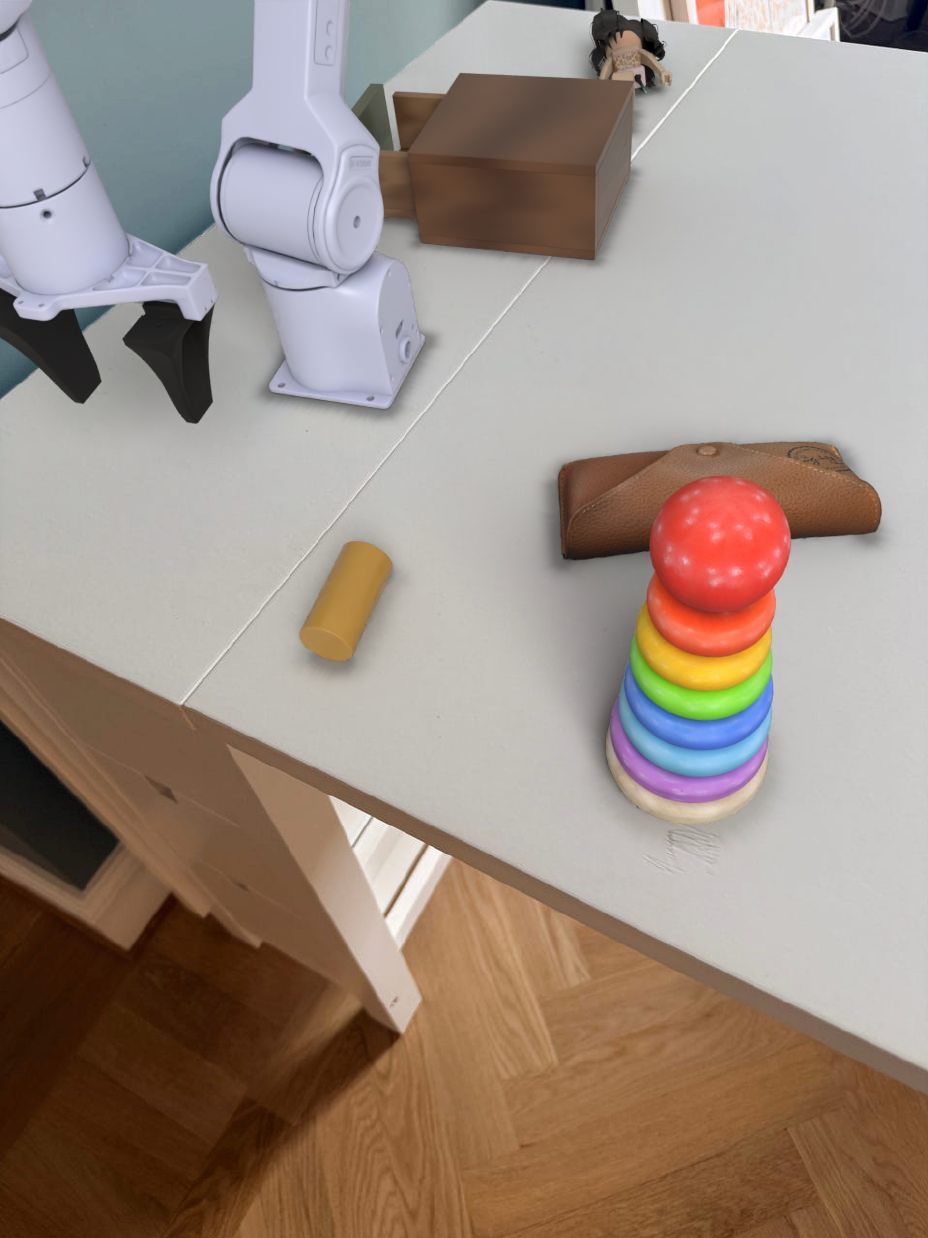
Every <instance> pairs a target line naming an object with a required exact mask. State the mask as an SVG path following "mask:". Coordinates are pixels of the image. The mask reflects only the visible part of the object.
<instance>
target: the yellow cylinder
mask: <svg viewBox="0 0 928 1238" xmlns="http://www.w3.org/2000/svg"><path fill="white" fill-rule="evenodd" d="M393 567H394V566H393V562H392V560H391V558H390V557H389V555H388V554H387V553H386V552H385V551H384V550H382V549H380V548H379V547H378V546H376V545H374V544H372V543H369V542H366V541H362V540H352V541H349V542H346V543H345V544H344V545H343V546H342V548H341V550H340V552H339V554H338V556H337V558H336V560H335V562H334V564H333V566H332V567H331V570H330V572H329V573H328V574H327V575H328V576H327V577H326V580H325V581H324V583H323V585H322V587H321V589H320V591H319V593H318V595H317V597H316V599H315V601H314V603H313V604H312V607H311V608H310V610H309V612H308V614H307V617H306V618H305V620H304V623H303V624H302V626H301V628H300V630H299V632H298V634H299V635H298V636H299V640H300V642H301V643H302V644H303V646H305V647H306V648H307V649H308V650H309V651H310V652H312V653H313V654H315V655H317V656H319V657H321V658H323V659H326V660H329V661H333V662H346V661H348V660H351V658H352V657H353V655H354V653H355V651H356V649H357V646H358V644H359V642H360V640H361V638H362V636H363V633H364V631H365V629H366V627H367V625H368V623H369V621H370V618H371V616H372V614H373V612H374V610H375V608H376V606H377V604H378V601H379V599H380V597H381V595H382V593H383V591H384V589H385V586H386V584H387V582H388V580H389V577H390V576H391V573H392V572H393Z"/></svg>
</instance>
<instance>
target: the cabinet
mask: <svg viewBox="0 0 928 1238" xmlns="http://www.w3.org/2000/svg"><path fill="white" fill-rule="evenodd" d="M454 79H455V80H454V81H453V82H452V83H451V85H450V87H449V89H448V90H447V91H446V93H445V94H446V95H445V96H444V98H443V99H442V101H441V102H440V104H439V105H438V107H437V108H436V110H435V111H434V113H433V114H432V116H431V117H430V119H429V120H428V122H427V123H426V125H425V126H424V128H423V129H422V131H421V132H420V134H419V135H418V137H417V138H416V140H415V141H414V143H413V144H412V146H411V147H410V149H409V150H408V152H407V155H408V161H409V168H410V174H411V181H412V187H413V193H414V200H415V206H416V212H417V219H418V220H417V224H418V231H419V237H420V243H422V244H429V245H440V246H450V247H459V248H460V247H461V248H467V249H469V248H470V249H477V250H478V249H480V250H490V251H499V252H509V253H519V254H529V255H530V254H531V255H541V256H551V257H560V258H571V259H579V260H580V259H581V260H589V261H590V260H591V261H595V260H596V258H597V255H598V253H599V251H600V248H601V246H602V244H603V241H604V239H605V236H606V233H607V232H608V229H609V227H610V224H611V222H612V219H613V216H614V215H615V211H616V210H617V207H618V205H619V203H620V200H621V198H622V195H623V193H624V190H625V189H626V186H627V183H628V181H629V178H630V176H631V170H632V147H633V129H632V125H633V121H634V113H633V100H634V81H628V80H611V79H608V80H606V79H599V78H580V77H561V76H540V75H539V76H537V75H517V74H515V75H514V74H496V73H495V74H494V73H475V72H474V73H473V72H459V74H458V75H457V76H456V78H454ZM634 101H635V100H634ZM633 126H634V125H633Z"/></svg>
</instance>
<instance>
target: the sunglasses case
mask: <svg viewBox="0 0 928 1238" xmlns="http://www.w3.org/2000/svg"><path fill="white" fill-rule="evenodd" d="M711 476H733V477H738V478H742V479H745V480H748V481H750V482H753V483H755V484H757V485H759V486H760V487H762V488H763V489H764V490H766V491H767V492H768V493H769V494H770V495H771V496H772V497H773V498H774V499H775V500H776V501H777V502H778V504H779V505H780V507H781V508H782V510H783V512H784V514H785V516H786V518H787V521H788V525H789V529H790V534H791V540H798V539H799V540H800V539H811V538H830V537H831V538H833V537H843V536H859V535H860V536H861V535H862V536H863V535H869V534H873V533H876V532H877V531H878V529H879V527H880V524H881V521H882V519H881V518H882V515H883V509H882V508H883V507H882V503H881V502H882V501H881V498H880V496H879V493H878V491H877V490H876V489H875V487H874V486H873V485H871V483H869V482H868V481H866V480H864V479H862V478H860V477H859V476H858V475H857V474H856V473H855V472H854V471H853V470H852V469H851V468H850V467H849V466H848V465H847V464H846V463H845V462H844V459H843V457H842V455H841V453H840V451H839V449H838V448H837V447H836V446H834V445H833V444H827V443H823V442H819V441H818V442H817V441H773V442H772V441H771V442H753V443H740V444H738V443H733V442H727V441H711V442H709V441H708V442H697V443H685V444H681V445H678V446H675V447H673V448H672V449H665V450H650V451H640V452H639V451H638V452H630V453H619V454H612V455H604V456H597V457H588V458H582V459H577V460H573V461H569V462H567V463H564V464H563V465H562V466H561V468H560V469H559V472H558V477H557V483H558V485H557V487H558V505H559V524H560V525H559V527H560V532H559V533H560V549H561V556H562V558H563V560H571V561H584V560H587V561H588V560H592V559H604V558H610V557H611V558H612V557H617V556H624V555H634V554H640V553H648V552H649V553H650V535H651V530H652V526H653V523H654V521H655V518H656V516H657V514H658V512H659V510H660V508H661V507H662V506H663V504H664V503H665V502H666V500H667V499H668V498H669V497H670V496H671V495H672V494H673V493H674V492H676V491H677V490H678V489H680V488H681V487H683V486H685V485H686V484H688V483H690V482H693V481H695V480H698V479H701V478H705V477H711Z"/></svg>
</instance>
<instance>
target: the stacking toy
mask: <svg viewBox="0 0 928 1238" xmlns="http://www.w3.org/2000/svg"><path fill="white" fill-rule="evenodd" d="M791 549H792V539H791V534H790V529H789V525H788V521H787V518H786V516H785V514H784V512H783V510H782V508H781V507H780V505H779V504H778V502H777V501H776V500H775V499H774V498H773V497H772V496H771V495H770V494H769V493H768V492H767V491H766V490H764V489H763V488H762V487H760V486H759V485H757V484H755V483H753V482H750V481H748V480H745V479H742V478H738V477H733V476H711V477H705V478H701V479H698V480H695V481H693V482H690V483H688V484H686V485H685V486H683V487H681V488H680V489H678V490H677V491H676V492H674V493H673V494H672V495H671V496H670V497H669V498H668V499H667V500H666V502H665V503H664V504H663V506H662V507H661V508H660V510H659V512H658V514H657V516H656V518H655V521H654V523H653V526H652V530H651V535H650V552H649V555H650V560H651V565H652V568H653V569H654V570H653V571H654V573H653V574H652V576H651V578H650V580H649V582H648V586H647V589H646V598H645V601H644V602H643V603H642V606H641V607H640V610H638V611H639V612H638V614H637V617H636V622H635V632H634V634H633V636H632V639H631V643H630V649H629V657H628V660H627V662H626V666H625V669H624V677H623V679H622V683H621V685H620V689H619V692H618V695H617V697H616V699H615V701H614V703H613V707H612V710H611V712H610V717H609V725H608V728H607V731H606V736H605V737H606V738H605V753H606V754H605V755H606V759H607V760H606V761H607V764H608V767H609V770H610V773H611V775H612V777H613V779H614V781H615V783H616V784H617V786H618V788H619V789H620V790H621V792H622V794H624V795H625V797H626V798H627V799H628V800H629V801H631V803H633V804H634V805H635V806H636V807H638V808H639V809H640V810H642V811H643V812H644V813H647V814H648V815H651V816H653V817H655V818H658V819H660V820H663V821H666V822H671V823H675V824H682V825H702V824H710V823H715V822H719V821H721V820H725V819H726V818H728V817H731V816H733V815H734V814H736V813H738V812H739V811H740V810H741V809H743V808H744V807H746V805H748V804H749V803H750V802H751V801H752V799H754V798H755V796H756V795H757V793H759V791H760V789H761V788H762V786H763V784H764V781H765V779H766V777H767V772H768V769H769V762H770V748H769V734H770V733H769V732H770V729H771V725H772V720H773V705H772V704H773V699H774V679H773V675H772V670H773V653H772V648H771V647H772V642H773V631H772V630H773V629H772V623H773V621H774V618H775V614H776V610H777V609H776V608H777V598H776V591H775V589H774V588H775V586H776V585H777V584H778V583H779V581H780V580H781V578H782V577H783V575H784V572H785V570H786V568H787V567H788V563H789V559H790V555H791Z"/></svg>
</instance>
